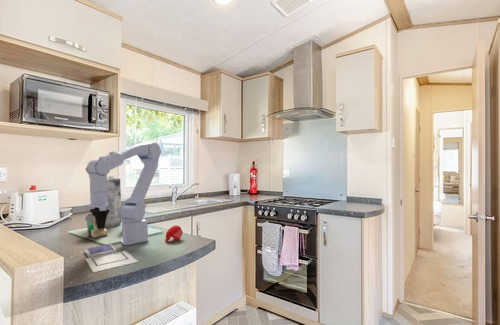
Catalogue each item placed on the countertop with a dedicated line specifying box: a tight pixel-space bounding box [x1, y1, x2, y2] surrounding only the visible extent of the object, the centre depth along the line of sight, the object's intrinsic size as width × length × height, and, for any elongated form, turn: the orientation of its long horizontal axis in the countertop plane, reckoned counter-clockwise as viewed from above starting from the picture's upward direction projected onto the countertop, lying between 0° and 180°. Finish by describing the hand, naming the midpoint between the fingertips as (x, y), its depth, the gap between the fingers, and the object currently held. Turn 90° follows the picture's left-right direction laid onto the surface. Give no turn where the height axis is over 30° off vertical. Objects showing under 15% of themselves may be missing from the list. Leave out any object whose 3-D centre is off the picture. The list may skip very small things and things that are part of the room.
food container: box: [84, 212, 94, 238], centre depth 127 cm, size 12×6×10 cm, turn 40°
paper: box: [85, 250, 138, 273], centre depth 93 cm, size 13×16×1 cm
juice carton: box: [104, 175, 122, 228], centre depth 150 cm, size 9×10×27 cm
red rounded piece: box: [164, 225, 183, 243], centre depth 116 cm, size 8×6×6 cm
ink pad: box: [84, 243, 117, 258], centre depth 102 cm, size 9×9×1 cm
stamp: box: [91, 216, 108, 240], centre depth 102 cm, size 4×4×8 cm
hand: (100, 227), depth 103 cm, fingers closed on stamp, 3 cm apart
